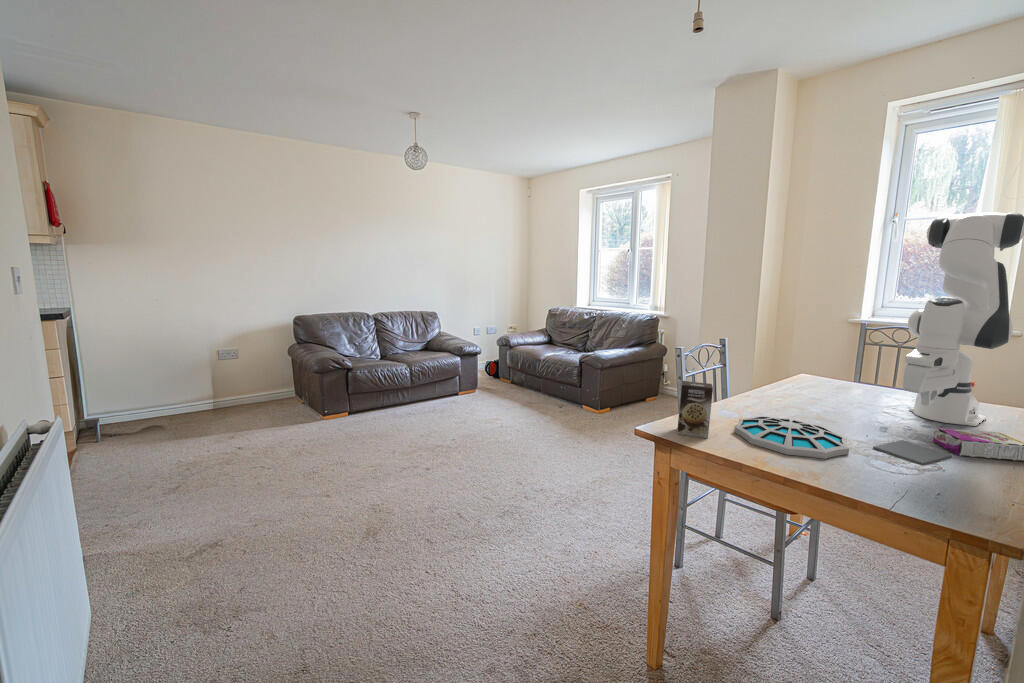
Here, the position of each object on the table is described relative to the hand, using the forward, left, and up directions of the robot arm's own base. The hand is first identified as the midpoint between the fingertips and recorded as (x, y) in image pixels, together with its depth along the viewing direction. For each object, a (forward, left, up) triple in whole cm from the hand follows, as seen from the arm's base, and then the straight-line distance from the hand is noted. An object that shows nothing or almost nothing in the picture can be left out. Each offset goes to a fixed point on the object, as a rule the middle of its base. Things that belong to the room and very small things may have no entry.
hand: (927, 404), depth 128 cm
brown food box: (+51, -35, -14) cm, 63 cm away
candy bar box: (-10, +1, -12) cm, 15 cm away
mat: (+3, -1, -14) cm, 14 cm away
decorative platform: (+26, -21, -15) cm, 37 cm away
